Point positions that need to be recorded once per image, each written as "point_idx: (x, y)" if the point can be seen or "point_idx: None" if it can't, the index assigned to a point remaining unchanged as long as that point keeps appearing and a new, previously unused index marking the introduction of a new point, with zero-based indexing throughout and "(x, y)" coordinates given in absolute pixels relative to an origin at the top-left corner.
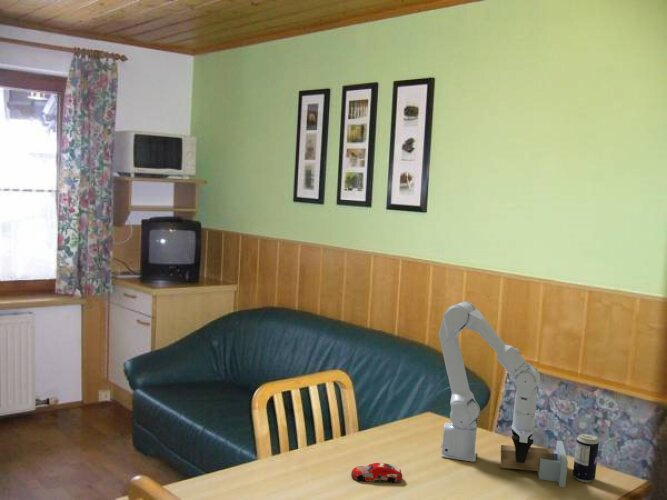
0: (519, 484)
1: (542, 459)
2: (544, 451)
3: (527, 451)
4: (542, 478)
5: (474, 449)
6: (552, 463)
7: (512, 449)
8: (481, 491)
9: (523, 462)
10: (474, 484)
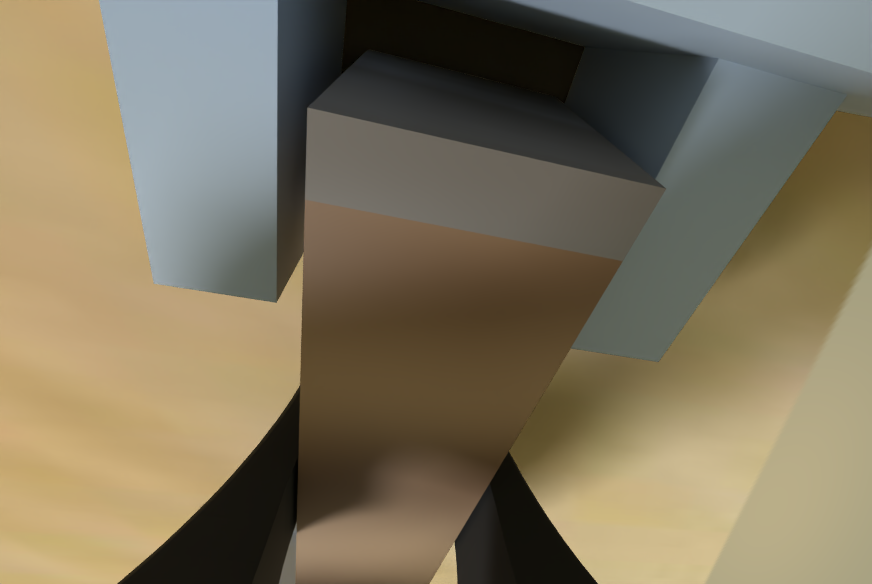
0: (657, 388)
1: (613, 330)
2: (489, 327)
3: (549, 523)
4: None
5: (281, 579)
6: (747, 217)
7: (409, 555)
8: (703, 526)
9: None
10: (626, 538)
